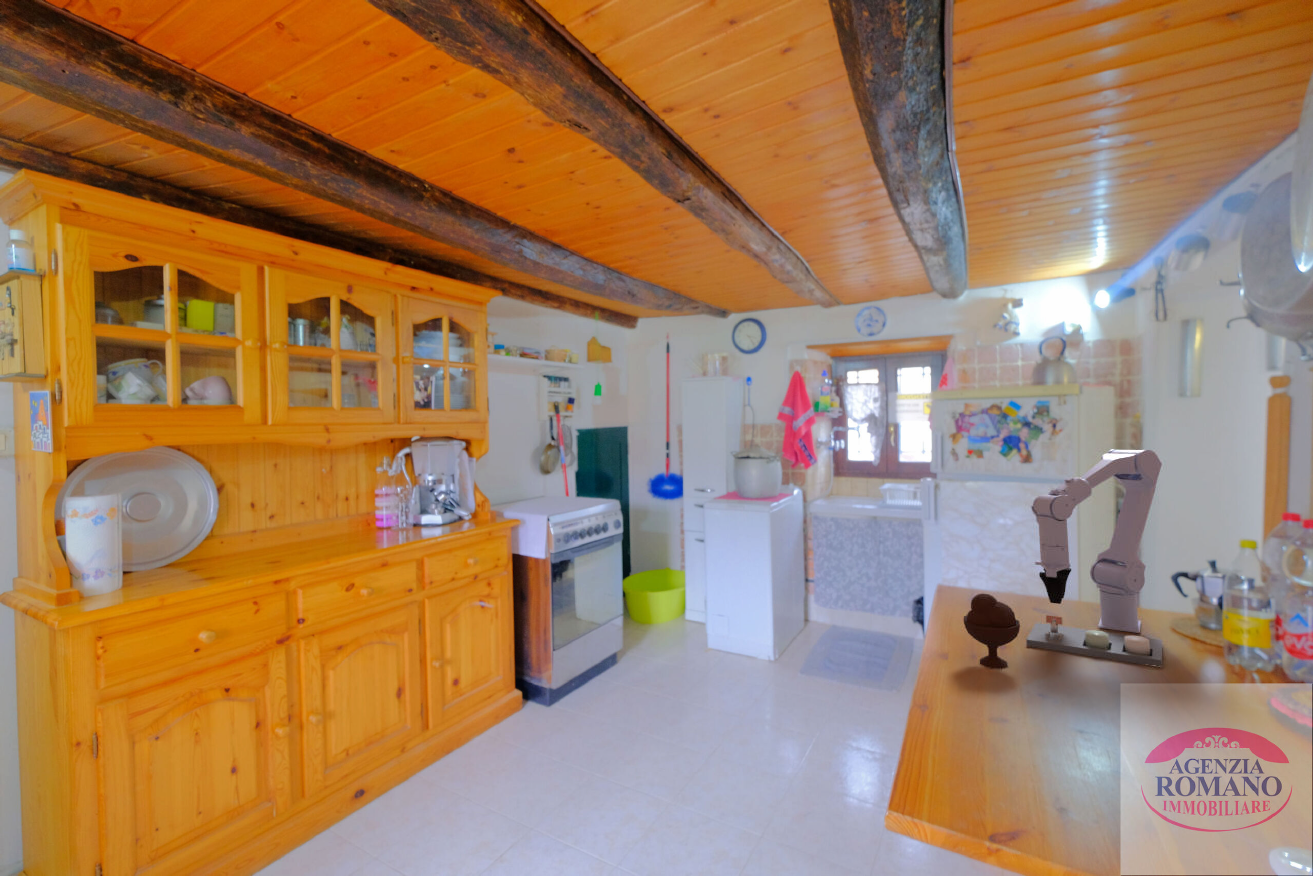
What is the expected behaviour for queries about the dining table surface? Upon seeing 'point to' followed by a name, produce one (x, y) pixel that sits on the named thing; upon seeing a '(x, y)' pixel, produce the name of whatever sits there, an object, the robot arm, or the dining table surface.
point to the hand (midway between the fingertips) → (1057, 600)
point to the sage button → (1096, 639)
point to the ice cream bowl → (991, 627)
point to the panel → (1075, 643)
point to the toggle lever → (1054, 622)
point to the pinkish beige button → (1137, 645)
